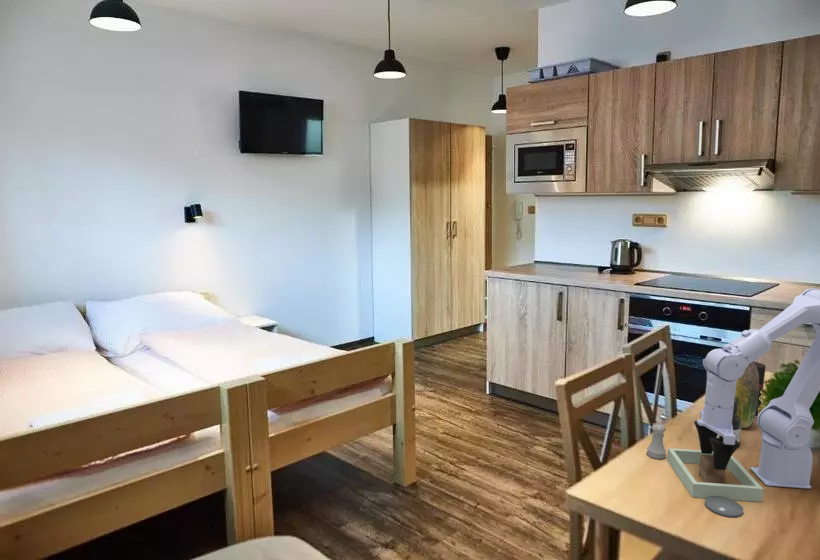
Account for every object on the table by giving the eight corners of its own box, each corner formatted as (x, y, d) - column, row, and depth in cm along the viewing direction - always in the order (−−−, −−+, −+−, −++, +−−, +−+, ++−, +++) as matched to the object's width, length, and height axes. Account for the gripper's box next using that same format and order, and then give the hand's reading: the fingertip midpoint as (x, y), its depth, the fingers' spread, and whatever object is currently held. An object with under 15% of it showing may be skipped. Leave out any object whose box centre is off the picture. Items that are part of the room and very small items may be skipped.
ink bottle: (705, 447, 147) (709, 402, 145) (694, 432, 156) (698, 390, 154) (746, 450, 146) (751, 405, 144) (732, 435, 154) (737, 392, 152)
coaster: (734, 500, 122) (734, 497, 122) (749, 518, 115) (749, 516, 115) (699, 497, 123) (699, 494, 123) (712, 515, 116) (712, 513, 116)
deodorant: (764, 417, 166) (770, 367, 164) (743, 417, 166) (749, 367, 164) (752, 409, 172) (758, 361, 170) (732, 409, 172) (737, 361, 170)
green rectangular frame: (728, 463, 138) (729, 452, 138) (761, 502, 122) (763, 488, 121) (667, 459, 140) (668, 448, 139) (692, 497, 123) (693, 484, 123)
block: (716, 476, 133) (719, 455, 132) (724, 485, 129) (726, 464, 128) (698, 474, 133) (700, 454, 132) (705, 483, 129) (707, 462, 128)
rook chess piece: (667, 460, 140) (670, 429, 138) (648, 458, 140) (650, 427, 139) (663, 452, 144) (666, 422, 143) (644, 450, 145) (647, 420, 143)
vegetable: (723, 423, 162) (731, 354, 159) (739, 420, 164) (747, 352, 161) (743, 432, 156) (751, 361, 153) (759, 428, 159) (767, 358, 155)
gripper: (688, 391, 135) (683, 445, 138) (712, 415, 121) (706, 475, 123) (720, 392, 135) (714, 447, 137) (748, 417, 120) (741, 477, 123)
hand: (712, 460), depth 130 cm, fingers open, 7 cm apart
